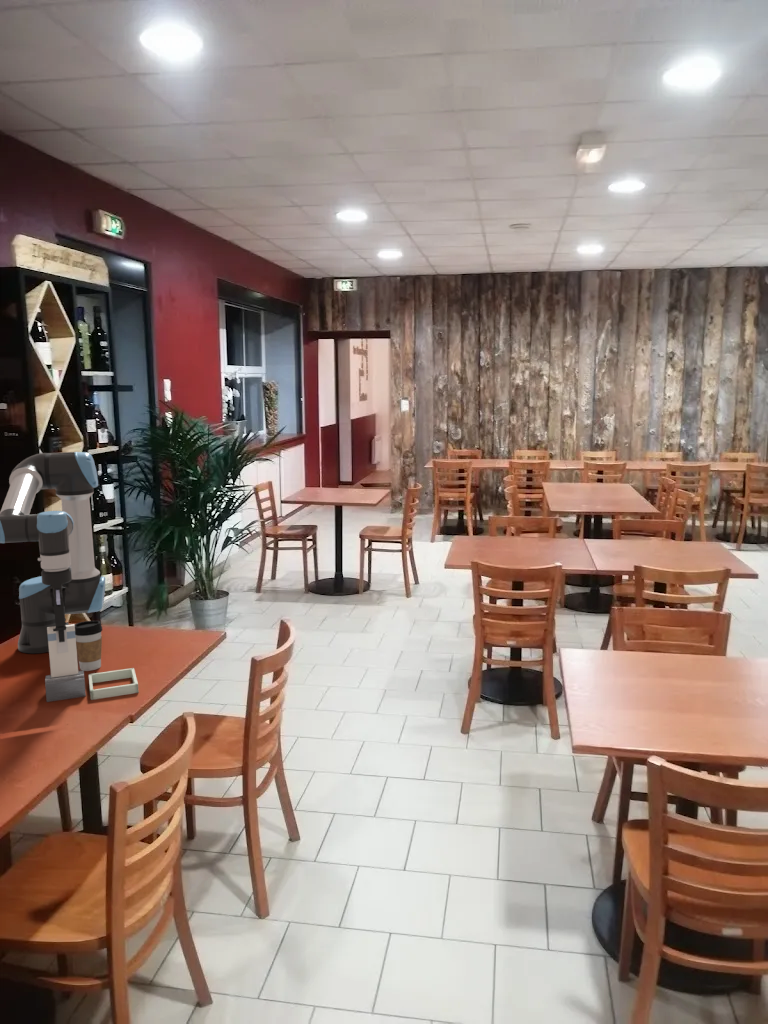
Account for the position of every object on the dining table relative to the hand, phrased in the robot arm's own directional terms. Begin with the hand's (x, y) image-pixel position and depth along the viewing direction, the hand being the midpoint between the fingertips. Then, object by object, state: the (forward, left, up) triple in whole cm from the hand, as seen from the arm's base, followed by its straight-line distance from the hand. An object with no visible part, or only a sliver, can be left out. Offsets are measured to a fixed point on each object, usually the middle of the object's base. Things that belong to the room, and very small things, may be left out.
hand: (62, 650), depth 216 cm
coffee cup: (-20, +7, -14) cm, 25 cm away
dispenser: (0, 0, -14) cm, 14 cm away
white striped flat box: (0, 0, -7) cm, 7 cm away
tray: (0, +12, -14) cm, 18 cm away
